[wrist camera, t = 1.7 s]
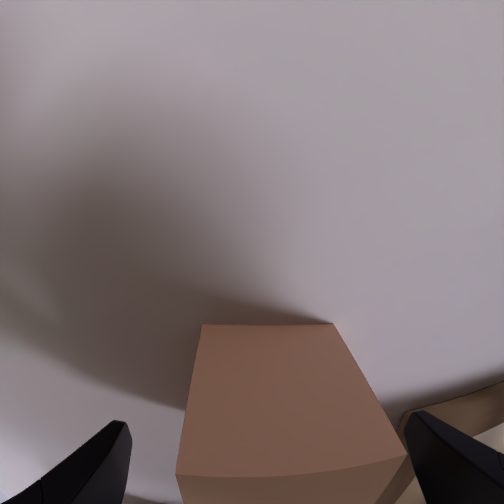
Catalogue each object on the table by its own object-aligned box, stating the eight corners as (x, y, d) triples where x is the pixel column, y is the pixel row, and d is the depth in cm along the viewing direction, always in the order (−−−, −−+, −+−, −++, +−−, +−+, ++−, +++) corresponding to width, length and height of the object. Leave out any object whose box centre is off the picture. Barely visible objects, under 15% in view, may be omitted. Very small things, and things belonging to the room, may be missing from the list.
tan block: (520, 374, 12) (545, 397, 9) (461, 468, 15) (476, 492, 12) (405, 411, 12) (431, 453, 9) (354, 504, 14) (364, 536, 12)
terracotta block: (333, 323, 10) (407, 454, 4) (315, 414, 11) (350, 532, 6) (202, 323, 10) (175, 473, 4) (207, 416, 11) (198, 543, 5)
